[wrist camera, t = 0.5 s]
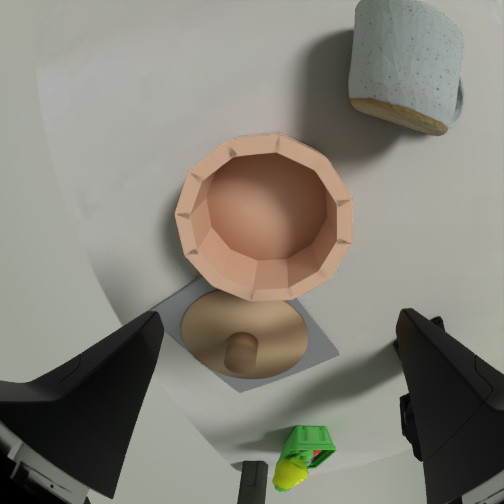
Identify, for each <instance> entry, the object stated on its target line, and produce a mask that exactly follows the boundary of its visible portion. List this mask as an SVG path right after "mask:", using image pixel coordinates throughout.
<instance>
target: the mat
mask: <svg viewBox="0 0 504 504" xmlns="http://www.w3.org/2000/svg"><path fill="white" fill-rule="evenodd" d="M217 289H218V288H216V287H213V286H212V285H211V284H210V283H209V282H208V281H207V280H206V279H205V278H204V277H203V275H202V276H200V277H199V278H197V279H196V280H194V281H193V282H191V283H189V284H188V285H186V286H185V287H183V288H182V289H180V290H179V291H177V292H176V293H174V294H173V295H171V296H170V297H168V298H167V299H165V300H164V301H162V302H160V303H159V304H157V305H156V306H154V307H153V308H151V309H150V310H149V311H157V312H159V314H160V317H161V320H162V323H163V326H164V330H165V331H166V332H167V333H168V334H169V335H171V336H172V337H173V338H174V339H175V340H176V341H177V342H178V343H179V344H181V345H182V346H183V347H184V348H185V349H186V350H187V351H188V352H190V351H189V350H188V348H187V347H186V345H185V342H184V340H183V337H182V322H183V318H184V316H185V314H186V311H187V309H188V308H189V307H190V305H191V304H192V303H193V302H194V301H195V300H196V299H198V298H199V297H201V296H202V295H204V294H206V293H208V292H211V291H214V290H217ZM285 301H287V302H288V303H289V304H291V305H292V306H293V307H294V308H295V309H296V310H297V311H298V312H299V314H300V315H301V316H302V318H303V320H304V322H305V324H306V328H307V334H308V345H307V349H306V352H305V353H304V355H303V357H302V358H301V360H300V361H299V362H298V363H297V364H296V365H295V366H294V367H292V368H291V369H289V370H288V371H286V372H284V373H282V374H279V375H276V376H273V377H269V378H264V379H240V378H234V377H229V376H226V375H223V374H220V373H218V372H215V371H213V370H211V369H210V368H209V369H210V370H211V371H212V372H214V373H215V374H216V375H217V376H219V377H220V378H221V379H222V380H224V381H225V382H226V383H228V384H229V385H230V386H231V387H233V388H234V389H235V390H237V391H238V392H239V393H241V392H244V391H247V390H250V389H253V388H256V387H259V386H262V385H265V384H268V383H271V382H274V381H277V380H279V379H282V378H285V377H288V376H290V375H293V374H295V373H298V372H301V371H303V370H306V369H308V368H310V367H313V366H315V365H318V364H320V363H322V362H325V361H327V360H329V359H331V358H334V357H336V356H338V355H339V352H338V350H337V349H336V348H335V346H334V345H333V344H332V343H331V341H330V340H329V339H328V338H327V336H326V335H325V334H324V333H323V331H322V330H321V329H320V328H319V326H318V325H317V324H316V323H315V321H314V320H313V319H312V317H311V316H310V315H309V314H308V312H307V311H306V310H305V309H304V307H303V306H302V305H301V304H300V302H299V301H298V300H297V299H296V298H295V299H292V300H285ZM207 368H208V367H207Z"/></svg>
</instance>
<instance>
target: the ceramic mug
mask: <svg viewBox="0 0 504 504" xmlns="http://www.w3.org/2000/svg"><path fill="white" fill-rule="evenodd" d="M463 46H464V39H463V34H462V32H461V29H460V28H459V27H458V26H457V24H456V23H455V22H454V21H453V20H452V19H451V18H450V17H448V16H447V15H446V14H444V13H443V12H441V11H439V10H438V9H436V8H434V7H432V6H430V5H428V4H425V3H423V2H420V1H417V0H361V1H360V2H359V3H358V4H357V6H356V9H355V25H354V36H353V47H352V59H351V67H350V73H349V81H348V87H349V100H350V103H351V104H352V106H353V107H354V108H355V109H356V110H358V111H360V112H363V113H365V114H368V115H371V116H374V117H377V118H380V119H383V120H386V121H389V122H392V123H395V124H398V125H401V126H404V127H407V128H410V129H413V130H417V131H420V132H423V133H426V134H429V135H434V136H441V135H443V134H445V133H446V132H447V130H448V128H451V127H453V126H454V125H455V124H456V123H457V121H458V120H459V118H460V115H461V112H462V109H463V104H464V89H463V82H462V79H461V76H460V74H461V66H462V58H463Z"/></svg>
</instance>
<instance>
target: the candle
mask: <svg viewBox="0 0 504 504" xmlns="http://www.w3.org/2000/svg"><path fill="white" fill-rule="evenodd" d="M267 474H268V465H267V464H266V463H265V462H264V461H243V467H242V474H241V481H240V489H239V495H238V502H237V504H265V495H266V485H267Z"/></svg>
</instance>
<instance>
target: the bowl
mask: <svg viewBox="0 0 504 504" xmlns="http://www.w3.org/2000/svg"><path fill="white" fill-rule="evenodd" d="M175 218H176V223H177V227H178V231H179V236H180V240H181V244H182V248H183V252H184V255H185V256H186V258H187V259H188V260H189V261H190V262H191V263H192V264H193V265H194V267H195V268H196V269H197V270H198V271H199V272H200V273H201V274H202V275H203V277H204V278H205V279H206V280H207V281H208V282H209V283H210V284H211V285H212V286H213V287H216V288H218V289H221V290H223V291H225V292H228V293H230V294H233V295H235V296H238V297H240V298H243V299H245V300H248V301H250V302H256V301H277V300H292V299H295V298H297V297H298V296H300V295H302V294H304V293H306V292H308V291H309V290H311V289H313V288H315V287H317V286H319V285H320V284H322V283H324V282H326V281H327V280H329V279H330V277H331V276H332V274H333V273H334V271H335V270H336V268H337V267H338V265H339V264H340V262H341V260H342V259H343V257H344V256H345V254H346V253H347V251H348V249H349V248H350V246H351V245H352V225H353V199H352V197H351V195H350V194H349V192H348V190H347V189H346V187H345V185H344V184H343V182H342V180H341V179H340V177H339V176H338V174H337V172H336V171H335V169H334V168H333V166H332V165H331V163H330V162H329V160H328V159H327V157H325V156H324V155H323V154H321V153H320V152H319V151H317V150H316V149H314V148H312V147H310V146H308V145H306V144H304V143H302V142H300V141H298V140H296V139H293V138H291V137H289V136H287V135H285V134H282V133H280V132H273V133H263V134H254V135H245V136H239V137H236V138H233V139H230V140H227V141H226V142H224V143H223V144H222V145H220V146H219V147H218V148H217V149H215V150H214V151H213V152H211V153H210V154H209V155H208V156H206V157H205V158H204V159H203V160H202V161H200V162H199V163H198V164H197V165H196V166H194V167H193V168H192V169H191V170H190V171H189V172H188V174H187V177H186V180H185V183H184V186H183V189H182V192H181V195H180V198H179V201H178V204H177V208H176V211H175Z"/></svg>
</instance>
